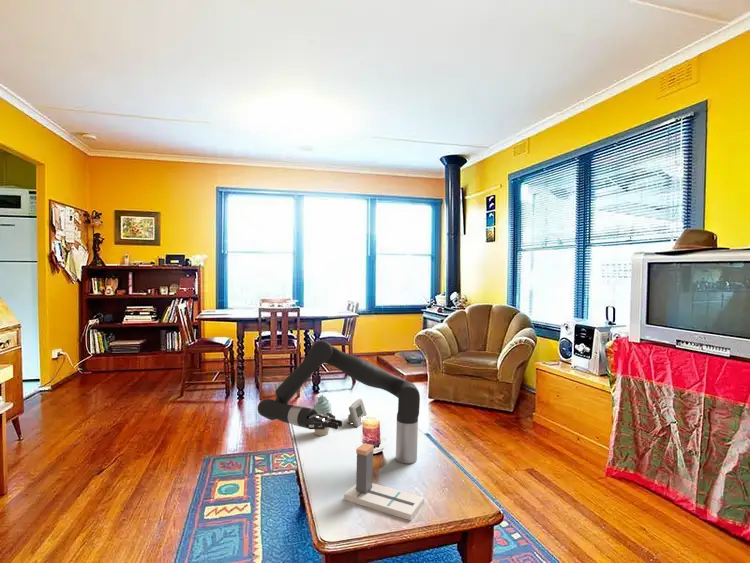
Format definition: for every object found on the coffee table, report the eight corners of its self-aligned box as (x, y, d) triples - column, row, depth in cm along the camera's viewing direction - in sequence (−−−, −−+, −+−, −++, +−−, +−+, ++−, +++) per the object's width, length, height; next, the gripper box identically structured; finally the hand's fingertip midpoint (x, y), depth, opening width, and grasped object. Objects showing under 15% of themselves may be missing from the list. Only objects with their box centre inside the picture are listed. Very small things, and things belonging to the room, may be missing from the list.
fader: (363, 483, 161) (364, 443, 160) (372, 486, 159) (373, 445, 158) (355, 491, 155) (356, 448, 155) (365, 494, 153) (366, 451, 153)
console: (360, 484, 165) (360, 479, 165) (423, 503, 153) (424, 497, 153) (343, 499, 154) (344, 493, 154) (411, 520, 142) (411, 514, 142)
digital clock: (356, 428, 221) (357, 408, 221) (342, 425, 226) (342, 405, 225) (372, 419, 235) (372, 399, 235) (358, 415, 240) (358, 397, 239)
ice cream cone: (328, 428, 220) (329, 389, 220) (333, 436, 210) (334, 396, 209) (309, 430, 217) (309, 391, 216) (313, 438, 207) (313, 397, 206)
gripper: (291, 412, 163) (329, 421, 155) (312, 402, 175) (349, 409, 167) (291, 432, 163) (329, 441, 155) (312, 420, 175) (348, 428, 167)
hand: (339, 425), depth 161 cm, fingers closed
